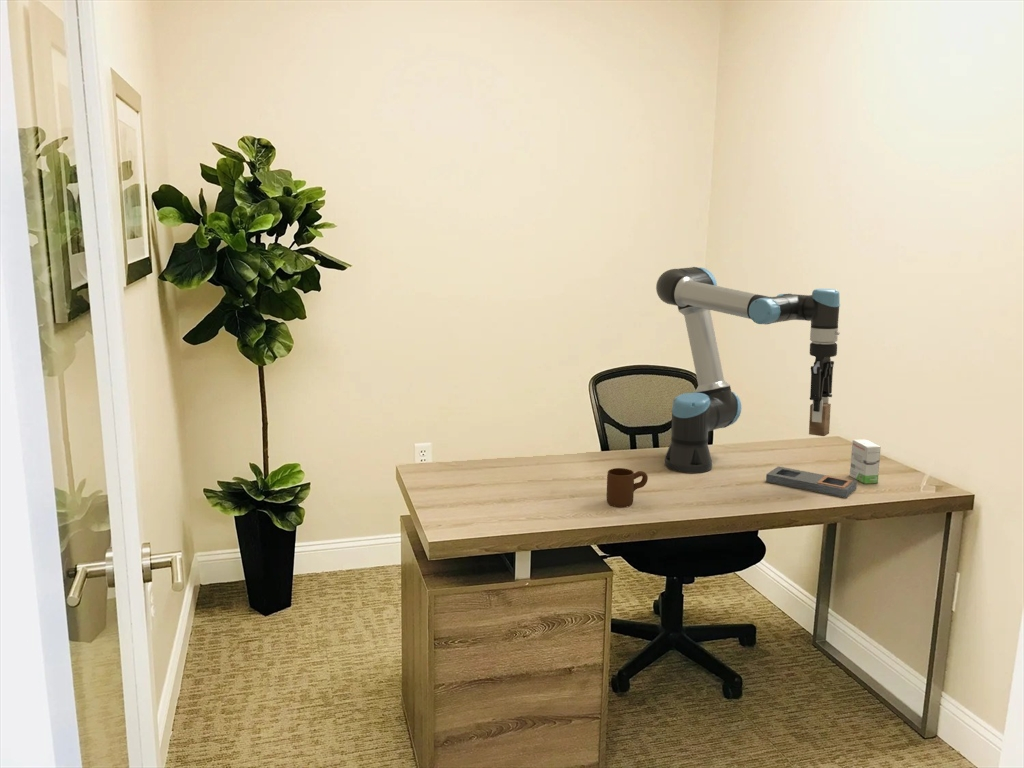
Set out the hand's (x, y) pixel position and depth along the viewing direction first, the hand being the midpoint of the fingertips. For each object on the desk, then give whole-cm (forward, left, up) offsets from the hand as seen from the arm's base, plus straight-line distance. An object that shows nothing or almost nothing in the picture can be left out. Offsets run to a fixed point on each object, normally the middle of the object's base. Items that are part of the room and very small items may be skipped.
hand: (819, 420), depth 253 cm
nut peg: (0, 0, -4) cm, 4 cm away
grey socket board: (-1, 0, -21) cm, 21 cm away
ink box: (+10, +16, -21) cm, 28 cm away
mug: (-38, -47, -21) cm, 64 cm away
